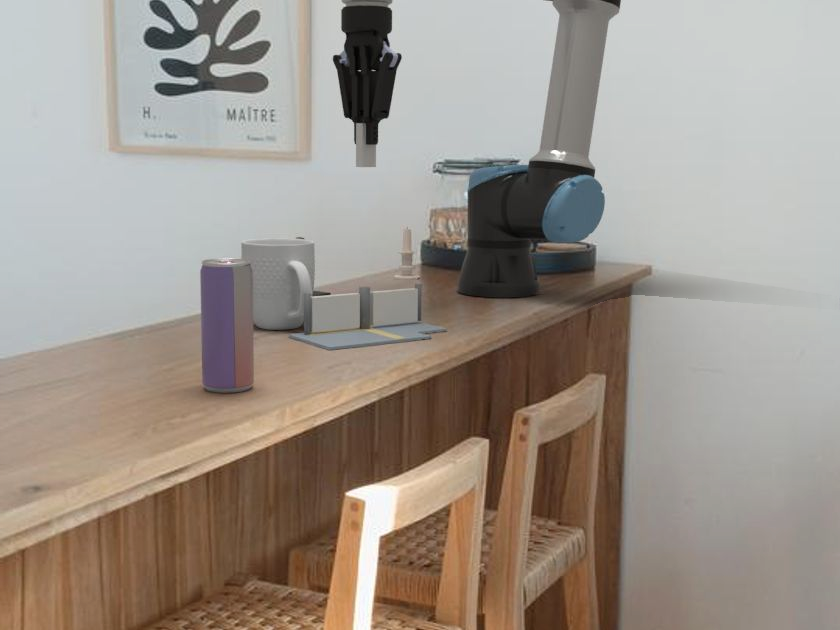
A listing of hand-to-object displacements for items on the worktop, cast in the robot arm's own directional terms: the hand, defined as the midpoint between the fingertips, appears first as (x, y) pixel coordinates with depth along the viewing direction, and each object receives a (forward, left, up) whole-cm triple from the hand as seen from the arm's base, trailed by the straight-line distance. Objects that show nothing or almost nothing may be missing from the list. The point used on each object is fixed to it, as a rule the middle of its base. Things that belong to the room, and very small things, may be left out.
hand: (365, 166), depth 182 cm
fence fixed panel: (+8, +4, -24) cm, 26 cm away
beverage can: (+37, +29, -24) cm, 53 cm away
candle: (-37, -43, -25) cm, 62 cm away
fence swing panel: (-3, +5, -23) cm, 24 cm away
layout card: (+4, +9, -24) cm, 26 cm away
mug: (+12, -5, -24) cm, 28 cm away
